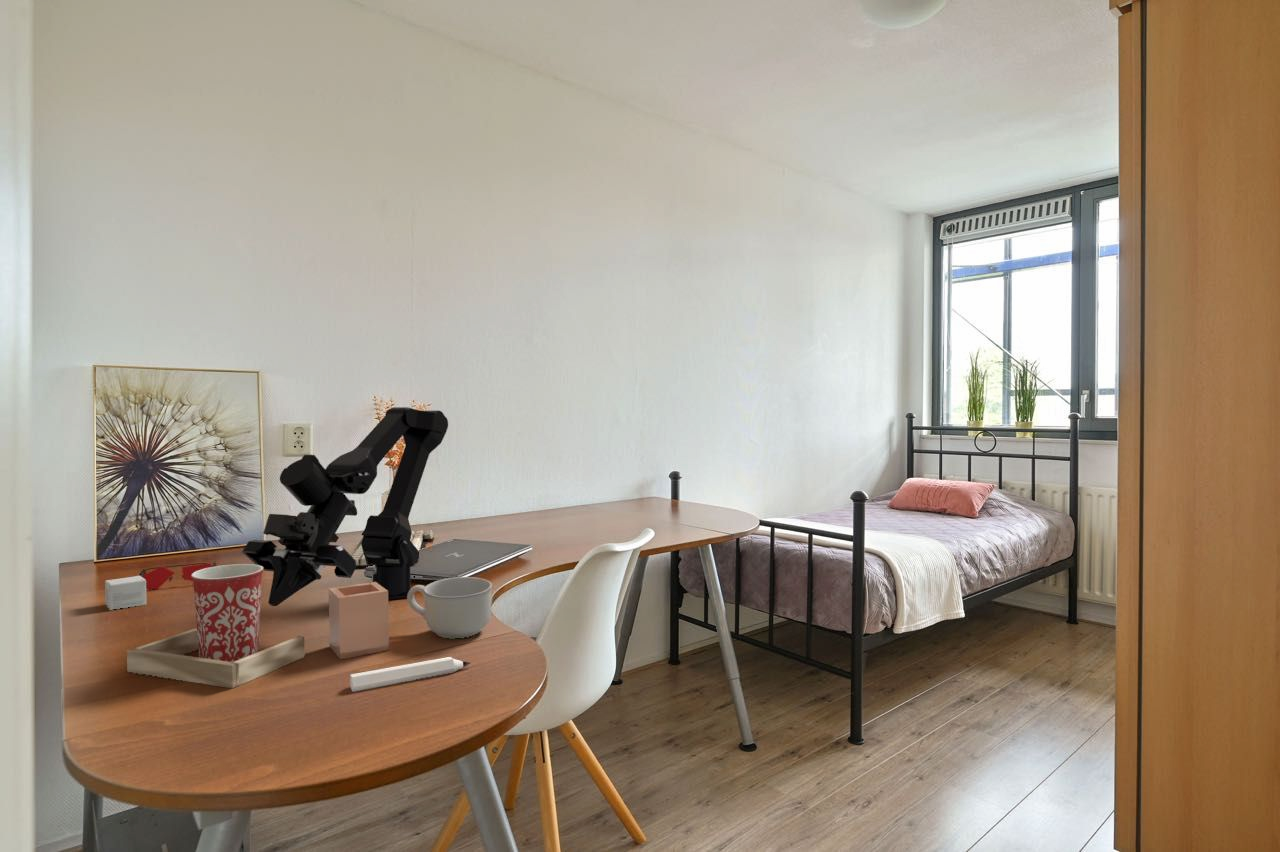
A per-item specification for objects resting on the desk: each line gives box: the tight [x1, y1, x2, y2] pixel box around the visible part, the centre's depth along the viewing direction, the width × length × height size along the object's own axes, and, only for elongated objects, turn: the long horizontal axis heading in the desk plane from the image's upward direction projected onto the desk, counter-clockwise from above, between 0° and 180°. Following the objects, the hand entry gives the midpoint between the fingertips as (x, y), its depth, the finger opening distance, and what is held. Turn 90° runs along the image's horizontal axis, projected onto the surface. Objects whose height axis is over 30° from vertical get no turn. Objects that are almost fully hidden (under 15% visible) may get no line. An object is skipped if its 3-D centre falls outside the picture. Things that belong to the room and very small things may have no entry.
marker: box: [349, 656, 472, 692], centre depth 99 cm, size 3×2×16 cm
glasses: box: [138, 561, 217, 591], centre depth 155 cm, size 14×16×5 cm
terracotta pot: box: [328, 581, 390, 660], centre depth 111 cm, size 7×7×9 cm
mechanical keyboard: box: [351, 529, 435, 570], centre depth 184 cm, size 38×19×3 cm, turn 14°
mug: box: [191, 563, 265, 662], centre depth 106 cm, size 13×9×14 cm
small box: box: [104, 575, 147, 611], centre depth 136 cm, size 6×6×5 cm
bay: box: [126, 627, 306, 689], centre depth 104 cm, size 12×19×3 cm, turn 72°
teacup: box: [406, 576, 493, 640], centre depth 118 cm, size 14×11×8 cm
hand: (271, 604), depth 113 cm, fingers closed
